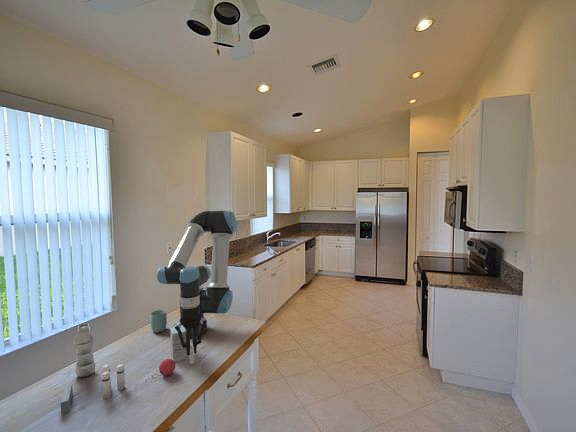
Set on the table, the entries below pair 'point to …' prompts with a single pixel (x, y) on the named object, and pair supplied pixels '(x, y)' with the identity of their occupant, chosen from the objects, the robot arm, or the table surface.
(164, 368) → the ball
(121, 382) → the front pin
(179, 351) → the supplement box
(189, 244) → the robot arm
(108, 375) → the pin
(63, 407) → the back wall
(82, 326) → the plastic bottle
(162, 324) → the cup
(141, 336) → the table surface
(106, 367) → the pin
